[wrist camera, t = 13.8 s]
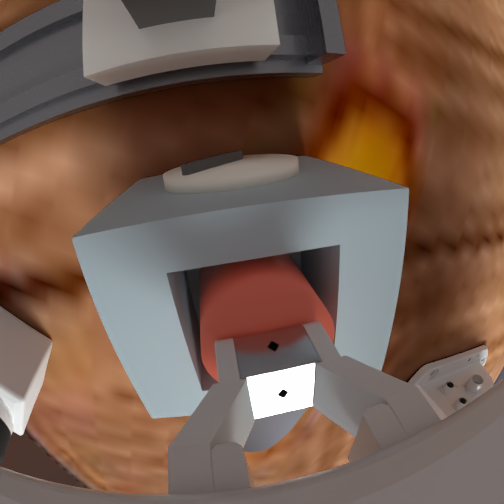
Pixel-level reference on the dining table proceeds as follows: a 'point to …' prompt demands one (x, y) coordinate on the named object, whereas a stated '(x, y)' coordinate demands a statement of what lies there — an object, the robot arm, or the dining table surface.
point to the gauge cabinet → (239, 258)
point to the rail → (94, 94)
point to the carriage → (173, 35)
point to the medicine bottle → (19, 374)
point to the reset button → (254, 302)
